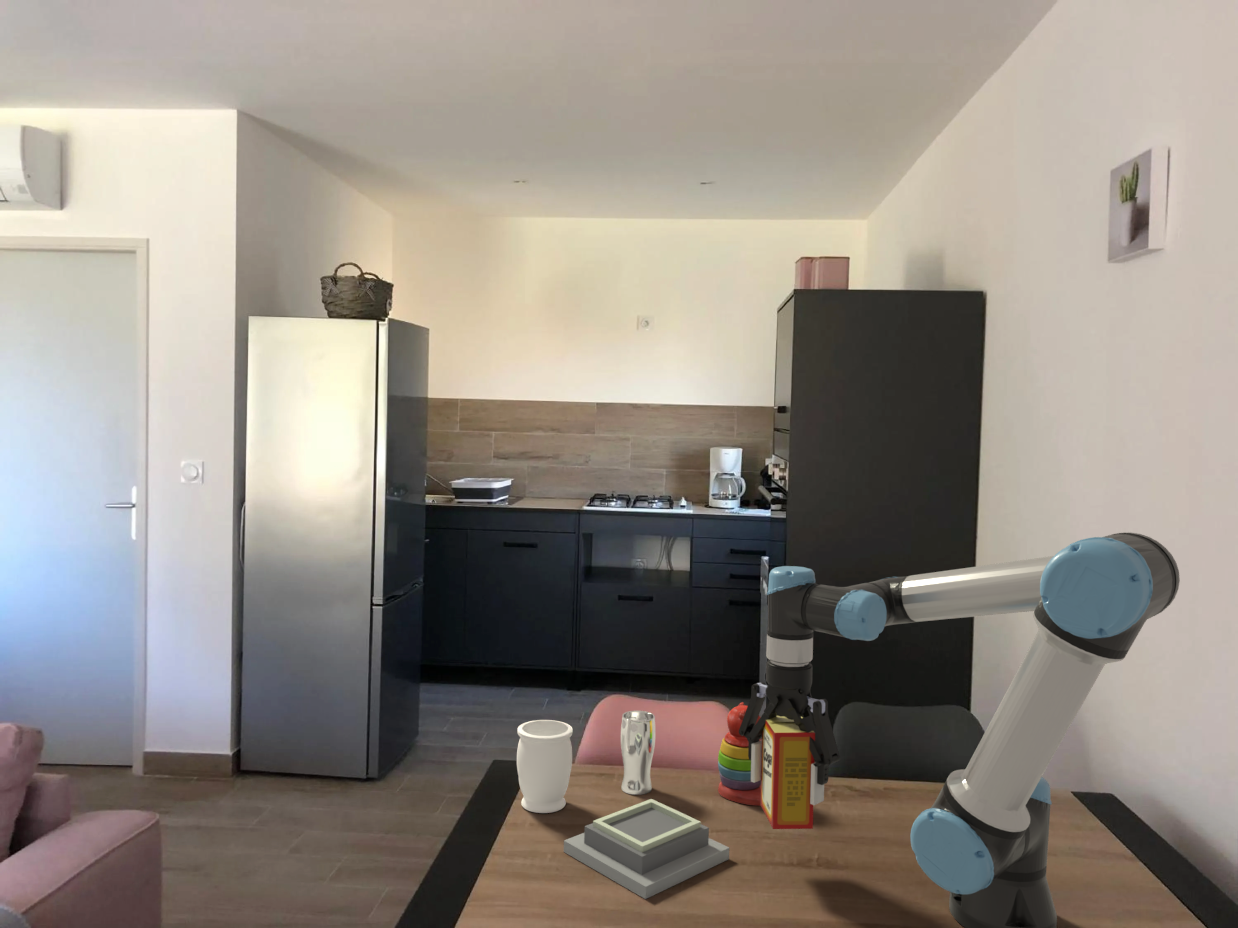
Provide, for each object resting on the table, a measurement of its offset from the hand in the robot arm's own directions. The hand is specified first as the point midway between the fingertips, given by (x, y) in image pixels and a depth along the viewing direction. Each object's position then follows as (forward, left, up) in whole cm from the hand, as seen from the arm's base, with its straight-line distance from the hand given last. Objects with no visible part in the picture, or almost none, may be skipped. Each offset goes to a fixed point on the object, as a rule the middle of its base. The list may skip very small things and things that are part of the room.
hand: (786, 790), depth 153 cm
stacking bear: (+24, -19, -14) cm, 34 cm away
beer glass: (+39, -4, -14) cm, 42 cm away
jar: (+45, +15, -14) cm, 50 cm away
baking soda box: (0, 0, -4) cm, 4 cm away
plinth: (+18, +14, -14) cm, 27 cm away
